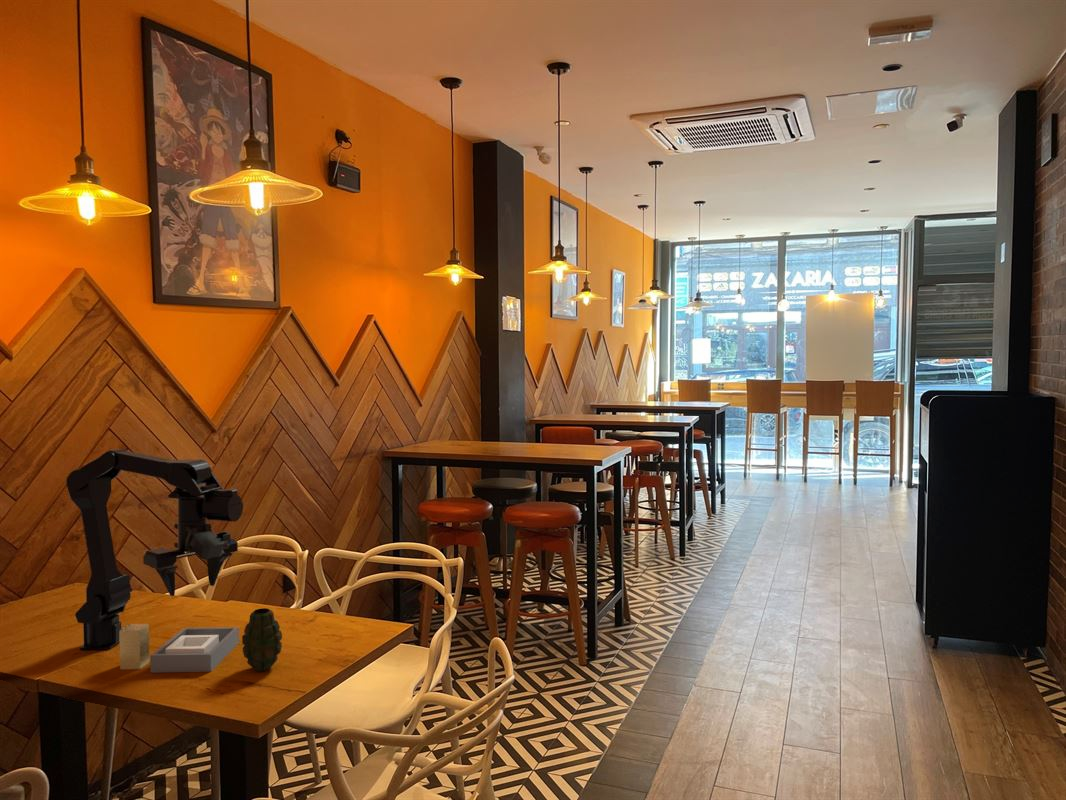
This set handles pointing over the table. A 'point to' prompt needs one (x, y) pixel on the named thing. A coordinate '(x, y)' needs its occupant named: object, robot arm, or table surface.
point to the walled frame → (195, 650)
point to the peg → (134, 646)
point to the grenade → (262, 640)
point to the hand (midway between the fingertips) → (192, 590)
